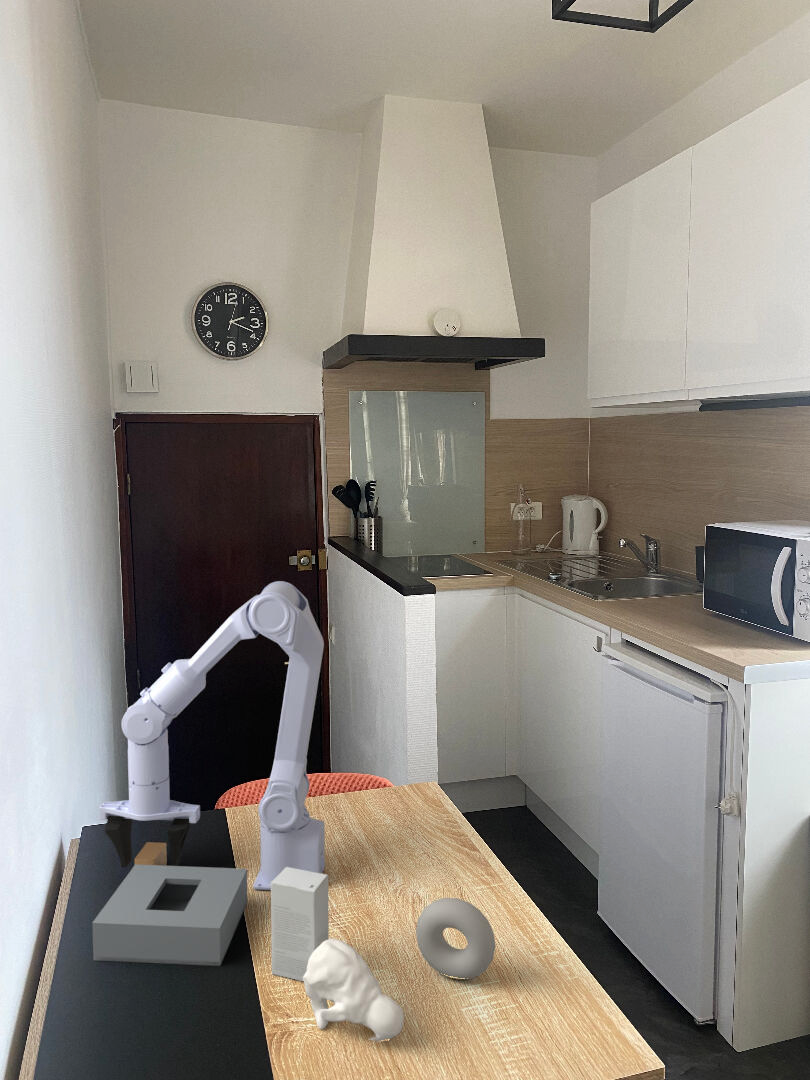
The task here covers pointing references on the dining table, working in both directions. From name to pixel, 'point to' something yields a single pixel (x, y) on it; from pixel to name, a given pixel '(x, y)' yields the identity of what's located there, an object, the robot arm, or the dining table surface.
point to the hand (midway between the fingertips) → (150, 865)
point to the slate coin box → (171, 915)
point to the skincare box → (297, 920)
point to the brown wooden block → (152, 854)
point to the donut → (469, 924)
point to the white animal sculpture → (349, 991)
